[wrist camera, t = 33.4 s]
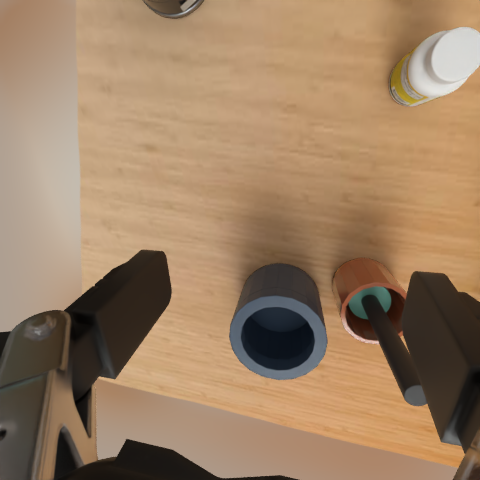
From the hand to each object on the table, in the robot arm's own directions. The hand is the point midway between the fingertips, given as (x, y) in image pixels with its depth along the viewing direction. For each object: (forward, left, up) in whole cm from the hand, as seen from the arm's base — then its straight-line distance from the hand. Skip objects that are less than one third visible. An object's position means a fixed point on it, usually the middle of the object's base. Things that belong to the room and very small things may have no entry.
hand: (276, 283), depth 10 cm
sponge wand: (+15, -8, -30) cm, 35 cm away
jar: (+7, -16, -31) cm, 35 cm away
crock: (+15, -8, -31) cm, 36 cm away
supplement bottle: (+8, +16, -31) cm, 36 cm away
